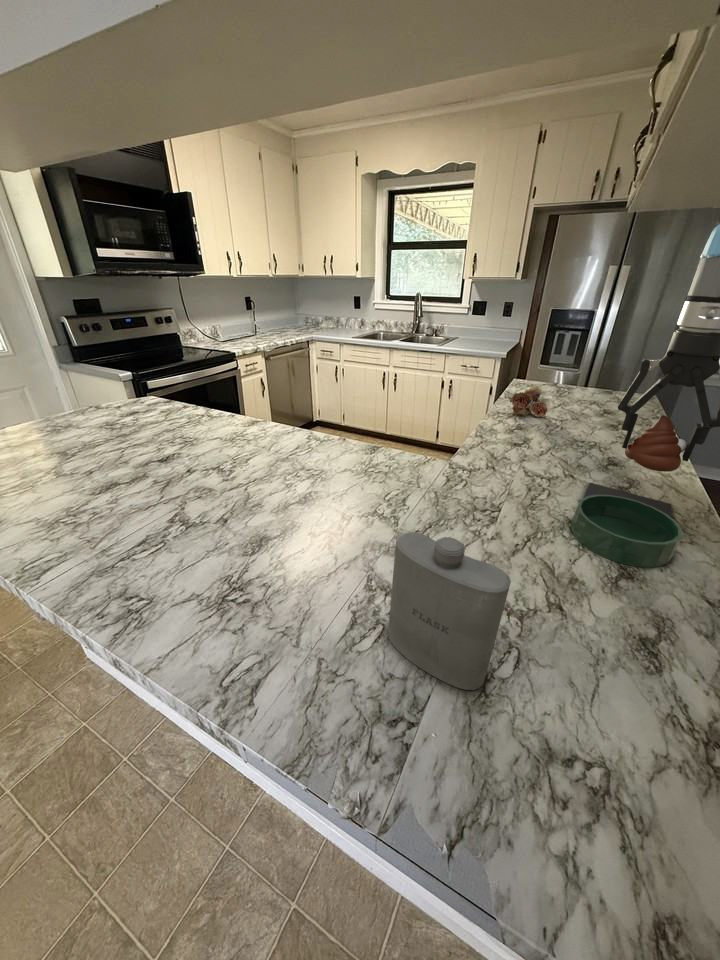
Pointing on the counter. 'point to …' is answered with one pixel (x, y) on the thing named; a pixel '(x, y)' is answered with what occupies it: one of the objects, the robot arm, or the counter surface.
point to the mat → (602, 490)
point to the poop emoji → (657, 447)
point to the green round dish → (626, 530)
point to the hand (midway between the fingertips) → (653, 452)
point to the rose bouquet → (529, 402)
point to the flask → (445, 608)
